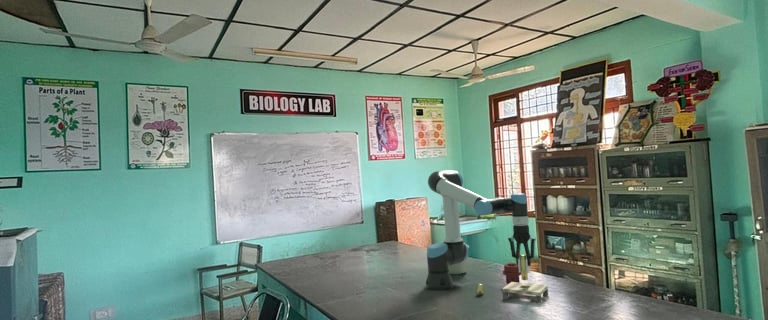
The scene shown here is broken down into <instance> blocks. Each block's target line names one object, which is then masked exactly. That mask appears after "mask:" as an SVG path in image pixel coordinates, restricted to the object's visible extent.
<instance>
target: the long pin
mask: <svg viewBox="0 0 768 320" xmlns="http://www.w3.org/2000/svg"><path fill="white" fill-rule="evenodd" d="M526 259H527V257H526V254H520V264H521V275H520V276H521V280H522V281H528V280H529V275H528V273H526V261H525V260H526Z"/></svg>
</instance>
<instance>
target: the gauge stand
mask: <svg viewBox="0 0 768 320" xmlns="http://www.w3.org/2000/svg"><path fill="white" fill-rule="evenodd" d="M501 291H502V299H503V300H508V299H509V293H511V294H512V293H513V294H520V295H530V296H535V303H536V304H542V297H548V296H549V287H548V285H546V284H540V283H539V284H537V283H526V282H520V283H519V282H511V283H509V284H508V285H505V286H504V287H503V288H502V290H501Z"/></svg>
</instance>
